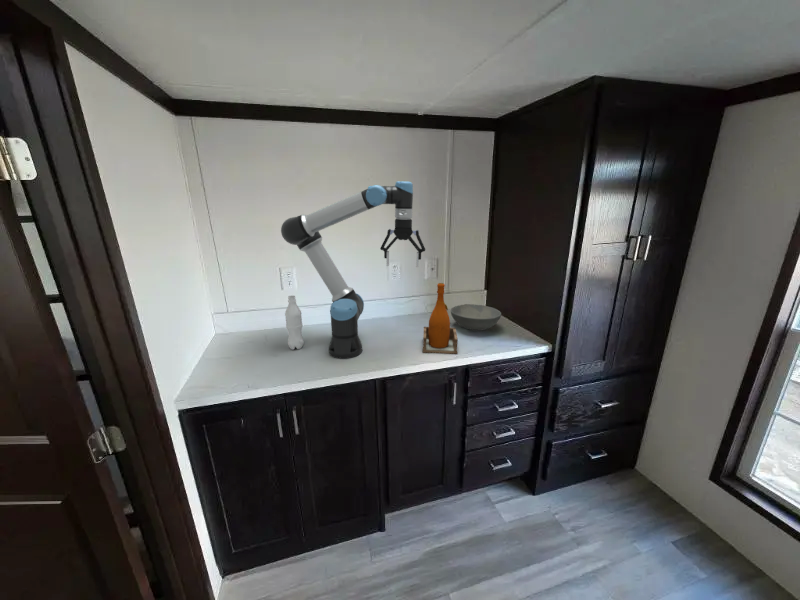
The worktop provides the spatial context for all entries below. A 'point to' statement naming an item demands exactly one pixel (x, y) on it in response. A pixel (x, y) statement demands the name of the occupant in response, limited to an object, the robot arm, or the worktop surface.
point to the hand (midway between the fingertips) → (402, 266)
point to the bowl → (475, 316)
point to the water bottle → (294, 324)
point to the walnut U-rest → (446, 350)
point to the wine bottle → (439, 321)
